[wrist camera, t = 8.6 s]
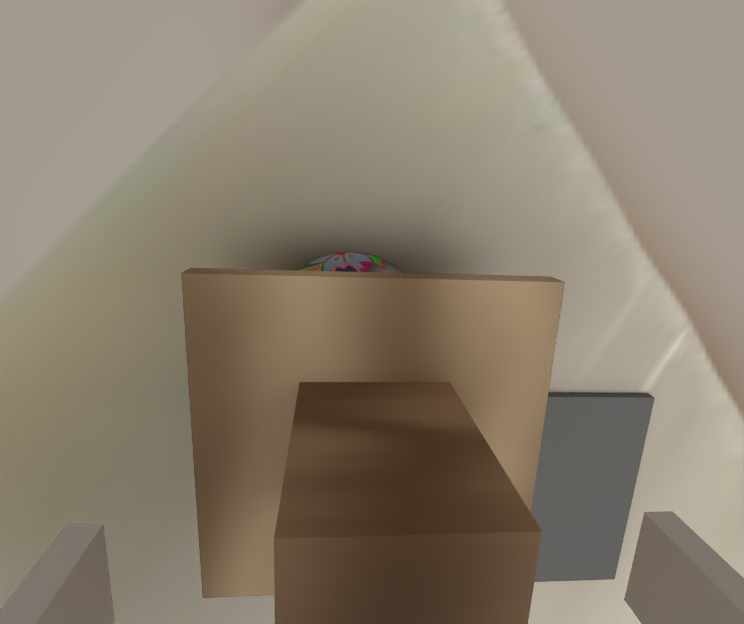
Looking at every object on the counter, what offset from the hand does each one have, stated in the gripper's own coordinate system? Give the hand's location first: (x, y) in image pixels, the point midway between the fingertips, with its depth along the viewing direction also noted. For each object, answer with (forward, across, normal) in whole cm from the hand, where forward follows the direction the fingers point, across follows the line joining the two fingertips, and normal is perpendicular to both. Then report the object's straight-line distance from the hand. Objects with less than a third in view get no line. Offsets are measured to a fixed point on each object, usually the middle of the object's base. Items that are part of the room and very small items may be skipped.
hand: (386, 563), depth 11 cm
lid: (+6, 0, 0) cm, 6 cm away
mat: (+16, +12, -10) cm, 23 cm away
